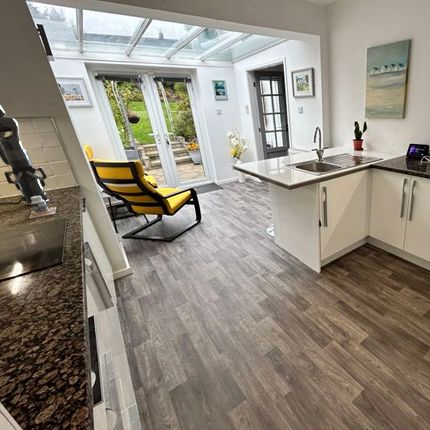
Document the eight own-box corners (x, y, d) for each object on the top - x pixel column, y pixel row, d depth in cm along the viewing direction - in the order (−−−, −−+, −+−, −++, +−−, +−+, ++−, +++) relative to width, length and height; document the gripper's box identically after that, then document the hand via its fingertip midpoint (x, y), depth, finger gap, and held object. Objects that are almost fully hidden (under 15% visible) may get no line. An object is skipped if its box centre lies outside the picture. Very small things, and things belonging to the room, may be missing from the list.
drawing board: (32, 211, 148) (31, 210, 148) (56, 207, 154) (55, 206, 154) (29, 219, 137) (28, 218, 137) (55, 214, 143) (54, 213, 143)
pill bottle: (33, 213, 144) (26, 197, 141) (45, 209, 148) (38, 195, 145) (39, 214, 142) (32, 198, 139) (51, 210, 147) (44, 195, 143)
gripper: (38, 155, 141) (51, 184, 147) (-2, 159, 132) (14, 190, 139) (37, 157, 136) (50, 187, 142) (-5, 161, 127) (12, 193, 134)
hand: (32, 188), depth 141 cm, fingers open, 8 cm apart
